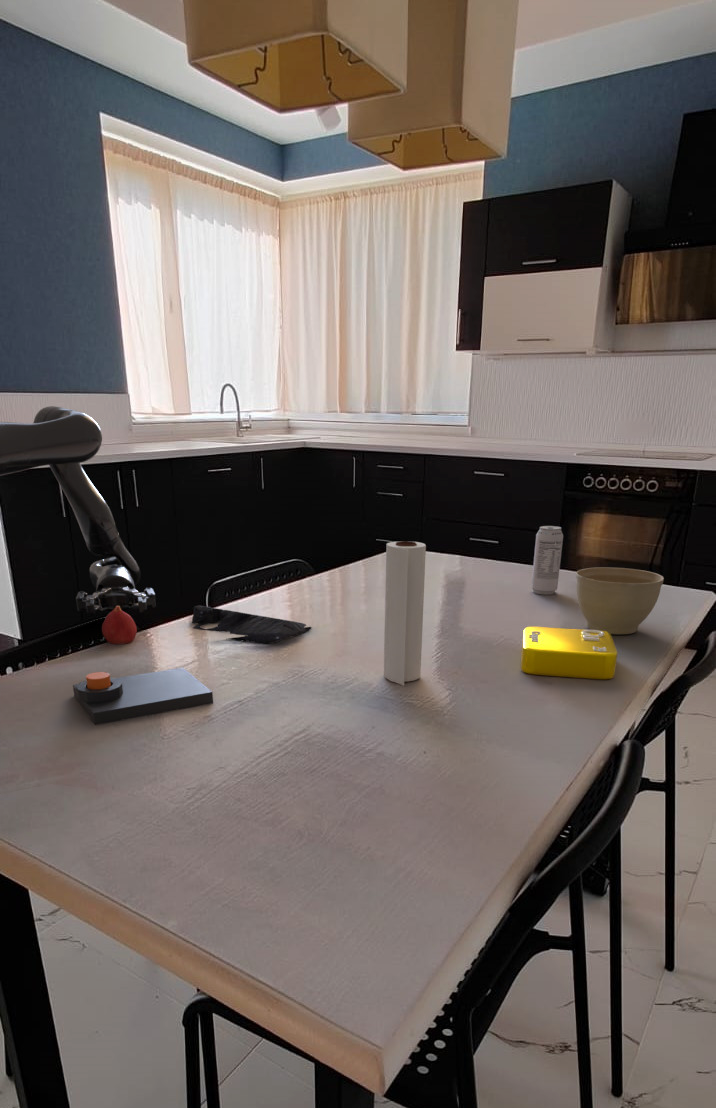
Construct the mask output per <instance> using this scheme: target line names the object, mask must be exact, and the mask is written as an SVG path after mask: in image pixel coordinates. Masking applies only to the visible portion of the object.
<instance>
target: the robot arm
mask: <svg viewBox="0 0 716 1108" xmlns="http://www.w3.org/2000/svg"><path fill="white" fill-rule="evenodd" d="M102 442H103V433H102V430H101V428H100V426H99V425H98V423H97V422H96V421H95V420H94V419H93V417H91V416H89V415H88V414H86V413H84V412H82V411H79V410H74V409H68V408H66V407H60V406H54V405H53V406H52V405H51V406H45V407H43V408H41V409H40V410H38V411H37V413H36V415H35V416H34V419H33V423H29V422H28V423H26V422H25V423H24V422H12V421H11V422H10V421H0V477H1V476H6V475H10V474H15V473H19V472H23V471H24V472H25V471H28V470H31V469H34V468H39V467H44V466H49V468H50V469H51V471H52V473H53V475H54V477H55V478H56V481H57V482H58V484H59V486H60V488H61V490H62V491H63V493H64V495H65V496H66V498H67V500H68V502H69V504H70V506H71V508H72V511H73V513H74V516H75V518H76V520H77V523H78V525H79V528H80V531H81V533H82V536H83V539H84V541H85V544H86V547H87V549H88V550H89V552H90V553H91V554H93V556H94V555H95V556H100V557H101V556H103V557H107V558H104V559H100V560H96V561H94V562H93V563H92V564H90V567H89V578H90V581H91V583H92V585H93V587H94V588H95V592H93V593H92V594H89V595H88V593H87V592H86V591H83V590H80V591H77V594H76V597H75V603H76V608H77V612H80V613H81V612H85V610H86V613H87V614H90V616H96V612H103V611H107V612H109V613H110V612H112V611H113V610H114V609H115V608H116V606H120V608H121V610H122V611H123V612H125V613H126V611H127V612H128V611H129V610H139V613H140V614H141V613H144V611H146V610H148V606H149V607H150V608H152V609H153V608H156V607H157V604H156V603H157V602H156V593H155V591H154V589H153V588H152V587H146V588H145V589H144V590H143V592H139V591H138V590H137V589H136V585H137V584H139V582H140V579H141V576H142V575H141V574H142V573H141V569H140V566H139V564H138V562H137V560H135V558H134V557H133V555H132V554H131V552H129V550H128V549H127V547H126V546H125V544H124V541H123V540H122V538H121V536H120V534H119V530H118V528H117V524H116V522H115V518H114V516H113V513H112V511H111V509H110V507H109V506H108V504H107V502H106V500H104V499H105V498H103V496H102V495H101V494H100V493H99V491H98V489H97V488H96V487H95V486H94V484H93V483H92V481H91V480H90V478H89V477H88V475H87V474H86V471H85V470H84V468H83V466H82V464H81V463H86V462H88V461H89V460H91V459H93V458H94V457H95V456H96V455H97V454H98V452H99V451H100V449H101V446H102Z"/></svg>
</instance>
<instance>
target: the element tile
mask: <svg viewBox="0 0 716 1108" xmlns="http://www.w3.org/2000/svg"><path fill="white" fill-rule="evenodd" d="M522 634H523V635H522V642H521V655H520V656H521V659H520V669H521V671H522V672H523V673H525V674H528V675H534V676H545V677H546V676H547V677H548V676H549V677H561V678H574V679H588V680H602V681H603V680H605V681H607V680H611V679H613V678H614V677H615V673H616V668H617V661H618V660H617V659H618V651H617V648H616V645H615V642H614V639H613V636H612V634H609V633H608V632H606V631H598V630H591V629H581V628H580V629H579V628H565V627H564V628H563V627H548V626H547V627H546V626H531V625H530V626H527V627H525V628H524V629H523V631H522Z"/></svg>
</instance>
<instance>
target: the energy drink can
mask: <svg viewBox="0 0 716 1108" xmlns="http://www.w3.org/2000/svg"><path fill="white" fill-rule="evenodd" d="M563 541H564V533H563V531H562V527H561V526H555V525H541V526H539V530H538V531H537V533H536V534H535V545H534V556H533V566H532V576H531V587H530V588H531V589H532V591H533V593H534V594H537V595H544V596H546V595H554V594H555V593H556V591H557V590H558V586H559V578H560V577H559V576H560V570H561V569H560V568H561V559H562V550H563Z"/></svg>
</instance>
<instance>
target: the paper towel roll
mask: <svg viewBox="0 0 716 1108" xmlns="http://www.w3.org/2000/svg"><path fill="white" fill-rule="evenodd" d="M385 547H386V552H385V588H384V589H385V593H384V635H383V637H384V638H383V639H384V641H383V642H384V643H383V647H384V648H383V677H384V678H385V679H386V680H388V681H390V682H392V683H396V684H399V685H402V686H403V687H405V682H406V683H407V682H413V681H416V680H419V678H420V677H421V672H422V671H421V670H422V650H423V649H422V647H423V626H424V625H423V624H424V623H423V622H424V599H425V575H426V554H427V553H426V552H427V551H426V550H427V545H426V543H424V542H419V541H410V540H409V541H408V540H407V541H406V540H404V541H403V540H402V541H401V540H400V541H391V542H387V543H386V546H385Z"/></svg>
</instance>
